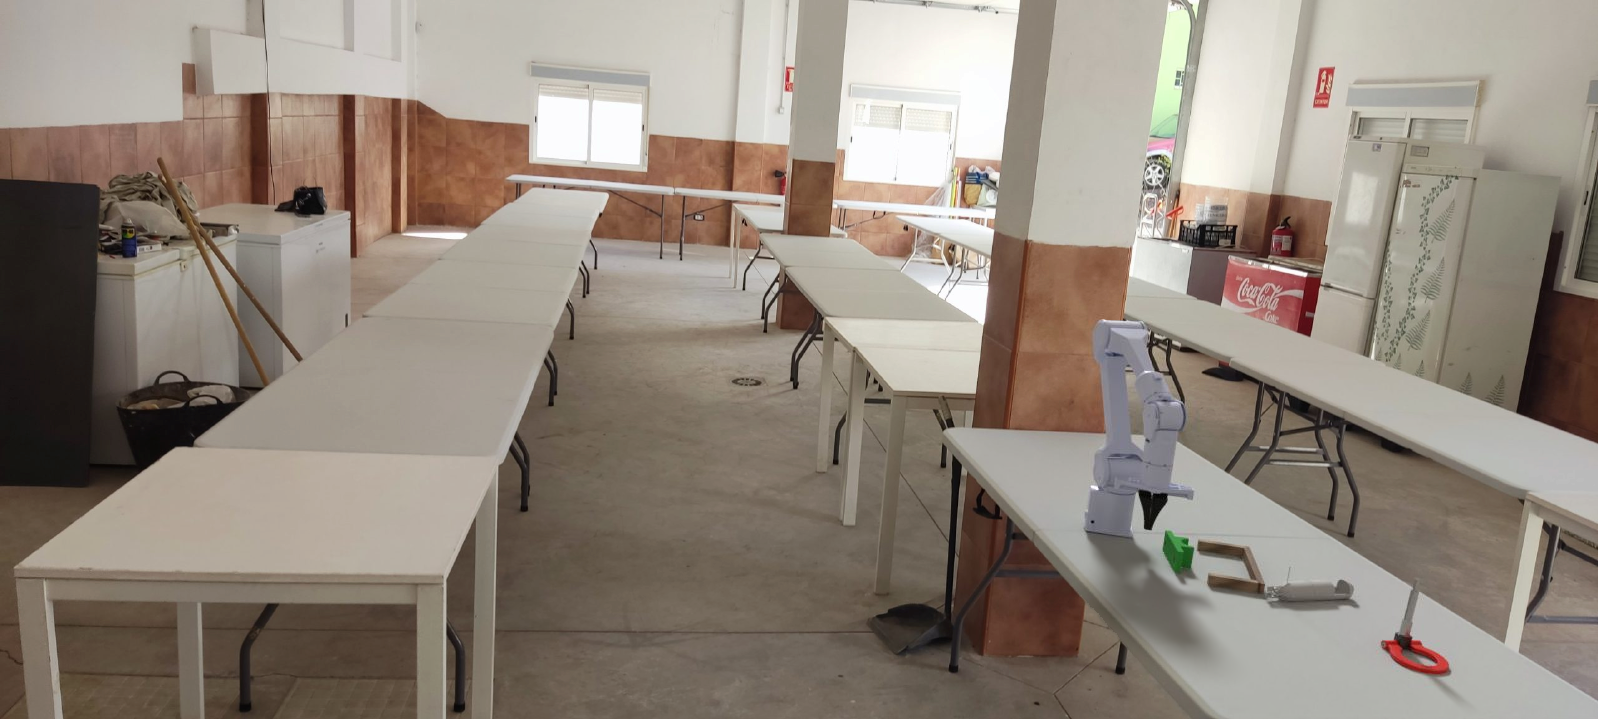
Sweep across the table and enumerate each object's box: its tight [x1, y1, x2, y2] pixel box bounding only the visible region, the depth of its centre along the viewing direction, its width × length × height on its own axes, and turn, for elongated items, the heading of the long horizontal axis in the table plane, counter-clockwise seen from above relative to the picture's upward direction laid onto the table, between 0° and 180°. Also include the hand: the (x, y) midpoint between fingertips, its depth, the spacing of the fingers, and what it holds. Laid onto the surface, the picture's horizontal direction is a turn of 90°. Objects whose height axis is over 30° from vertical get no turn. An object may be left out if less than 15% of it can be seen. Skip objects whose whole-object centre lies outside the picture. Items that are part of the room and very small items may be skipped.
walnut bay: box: [1196, 538, 1266, 595], centre depth 205 cm, size 10×19×2 cm, turn 166°
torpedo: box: [1264, 566, 1355, 602], centre depth 194 cm, size 18×5×7 cm, turn 104°
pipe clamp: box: [1162, 529, 1195, 574], centre depth 207 cm, size 11×4×5 cm, turn 173°
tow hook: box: [1380, 577, 1450, 675], centre depth 172 cm, size 8×13×9 cm
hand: (1147, 528), depth 208 cm, fingers closed
